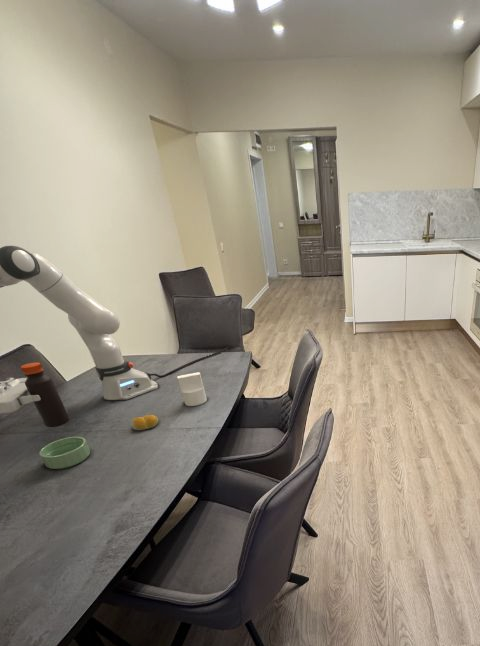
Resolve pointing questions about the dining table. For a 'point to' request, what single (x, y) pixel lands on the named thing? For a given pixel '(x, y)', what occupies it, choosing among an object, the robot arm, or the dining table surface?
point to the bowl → (65, 452)
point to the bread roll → (145, 422)
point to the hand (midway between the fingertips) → (46, 391)
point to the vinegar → (45, 395)
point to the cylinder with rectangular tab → (192, 389)
